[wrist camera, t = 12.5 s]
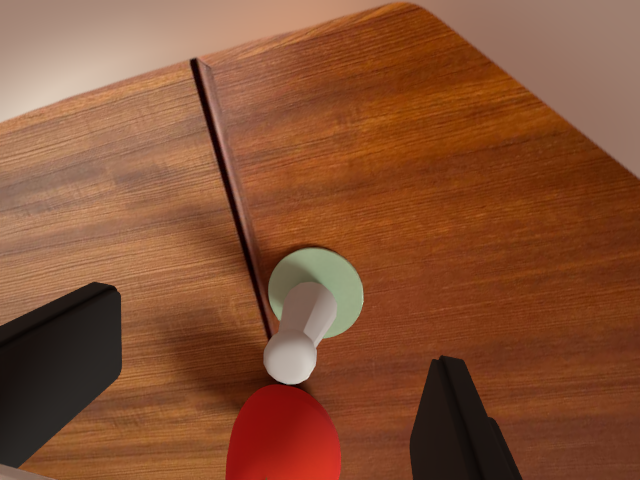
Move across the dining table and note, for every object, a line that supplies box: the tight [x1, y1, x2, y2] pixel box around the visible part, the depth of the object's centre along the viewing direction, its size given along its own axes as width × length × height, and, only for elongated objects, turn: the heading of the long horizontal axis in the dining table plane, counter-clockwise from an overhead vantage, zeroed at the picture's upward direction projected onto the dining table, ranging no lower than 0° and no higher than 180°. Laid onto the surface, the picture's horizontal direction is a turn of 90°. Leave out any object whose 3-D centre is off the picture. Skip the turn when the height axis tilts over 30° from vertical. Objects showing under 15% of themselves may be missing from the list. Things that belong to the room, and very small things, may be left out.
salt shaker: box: [264, 282, 337, 384], centre depth 33 cm, size 6×6×13 cm
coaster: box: [268, 247, 363, 338], centre depth 39 cm, size 11×11×1 cm
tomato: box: [225, 384, 341, 480], centre depth 37 cm, size 13×11×14 cm
